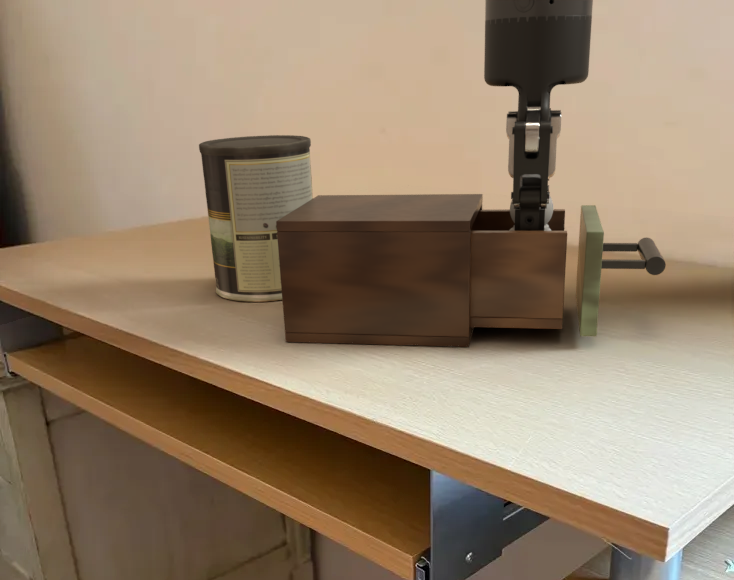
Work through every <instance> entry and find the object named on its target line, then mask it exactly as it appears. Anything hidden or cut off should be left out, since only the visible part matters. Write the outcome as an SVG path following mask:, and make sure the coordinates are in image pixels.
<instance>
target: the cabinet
mask: <svg viewBox="0 0 734 580" xmlns="http://www.w3.org/2000/svg"><path fill="white" fill-rule="evenodd" d="M483 195H484V194H483V193H445V194H444V193H442V194H440V193H437V194H435V193H434V194H433V193H432V194H431V193H429V194H428V193H427V194H425V193H424V194H326V195H325V194H324V195H322V194H319V195H317V196H315V197H313V199H311V200H310V201H308V202H307V203H305V204H303V205H302V206H300V207H298V208H297V209H295V210H294V211H292V212H290V213H289V214H287V215H285V216H284V217H282V218H281V219H279V220H277V221H276V227H277V239H278V251H279V264H280V277H281V289H282V300H281V301H282V313H283V324H284V326H283V327H284V338H285V342H286V343H315V344H321V343H322V344H345V345H346V344H348V345H349V344H350V345H351V344H353V345H383V346H384V345H387V346H419V347H420V346H421V347H452V348H453V347H457V348H470V347H469V346H470V343H471V341H472V336H473V332H474V329H475V327H470V260H471V228H472V225H473V223H474V221H475V219H476V216H477V214H478V212H479V210H483V202H484V201H483V199H484V198H483V197H484V196H483Z"/></svg>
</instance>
